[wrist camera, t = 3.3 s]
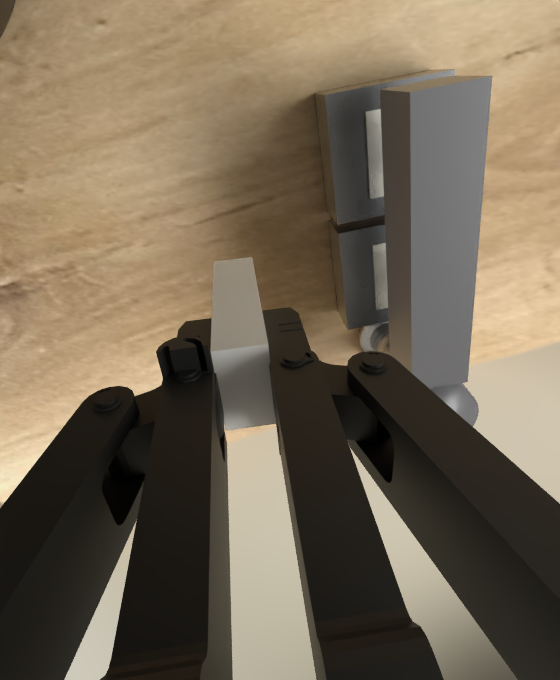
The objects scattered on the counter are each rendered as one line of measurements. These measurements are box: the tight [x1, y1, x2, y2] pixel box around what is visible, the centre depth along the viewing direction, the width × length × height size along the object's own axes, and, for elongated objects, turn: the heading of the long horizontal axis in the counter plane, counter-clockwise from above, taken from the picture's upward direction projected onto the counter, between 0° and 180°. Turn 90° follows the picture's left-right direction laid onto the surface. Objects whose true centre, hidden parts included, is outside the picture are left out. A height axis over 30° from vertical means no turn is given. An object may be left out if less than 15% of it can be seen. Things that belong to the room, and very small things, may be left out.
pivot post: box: [359, 321, 390, 355], centre depth 28 cm, size 4×4×5 cm
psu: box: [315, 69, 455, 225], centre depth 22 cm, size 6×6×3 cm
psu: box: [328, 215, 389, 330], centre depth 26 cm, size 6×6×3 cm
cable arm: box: [380, 76, 492, 427], centre depth 20 cm, size 17×4×4 cm, turn 10°
